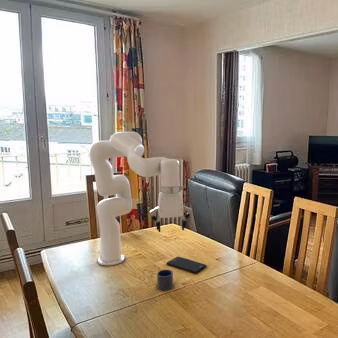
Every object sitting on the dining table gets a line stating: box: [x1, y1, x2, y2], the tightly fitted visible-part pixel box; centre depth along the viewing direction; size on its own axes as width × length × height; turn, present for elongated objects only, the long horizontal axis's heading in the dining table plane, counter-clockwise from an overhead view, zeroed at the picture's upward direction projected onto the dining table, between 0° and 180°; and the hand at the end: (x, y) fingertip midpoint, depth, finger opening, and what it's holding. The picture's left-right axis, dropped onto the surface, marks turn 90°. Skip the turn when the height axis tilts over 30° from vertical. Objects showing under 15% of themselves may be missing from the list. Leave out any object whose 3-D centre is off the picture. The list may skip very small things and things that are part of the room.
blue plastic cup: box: [156, 269, 174, 291], centre depth 139 cm, size 7×7×6 cm
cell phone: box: [166, 256, 207, 274], centre depth 159 cm, size 9×18×1 cm, turn 59°
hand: (171, 230), depth 135 cm, fingers open, 9 cm apart
